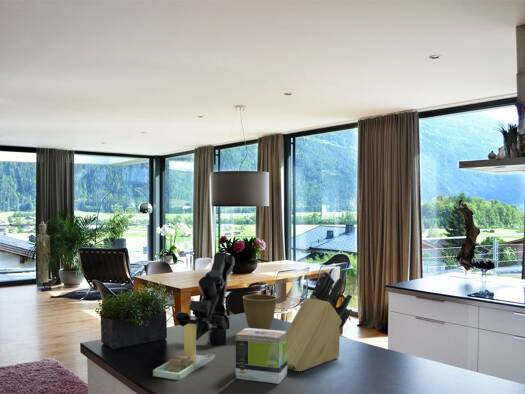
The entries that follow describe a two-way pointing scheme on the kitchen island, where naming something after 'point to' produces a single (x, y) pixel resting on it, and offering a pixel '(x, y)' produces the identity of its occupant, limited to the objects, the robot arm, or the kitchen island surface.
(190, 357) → the maple block
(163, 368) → the tray
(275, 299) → the plant pot
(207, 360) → the slot rail
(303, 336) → the knife block
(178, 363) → the walnut block
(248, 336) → the tea box
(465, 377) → the kitchen island surface
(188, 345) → the tall yellow pillar
